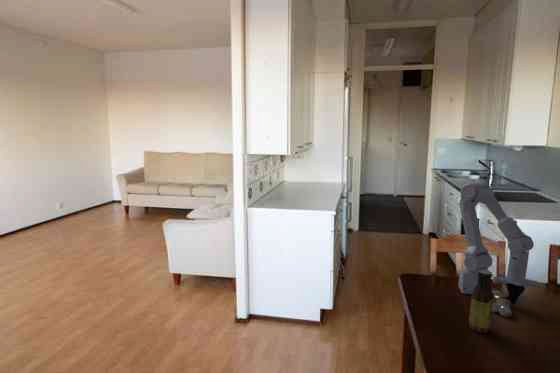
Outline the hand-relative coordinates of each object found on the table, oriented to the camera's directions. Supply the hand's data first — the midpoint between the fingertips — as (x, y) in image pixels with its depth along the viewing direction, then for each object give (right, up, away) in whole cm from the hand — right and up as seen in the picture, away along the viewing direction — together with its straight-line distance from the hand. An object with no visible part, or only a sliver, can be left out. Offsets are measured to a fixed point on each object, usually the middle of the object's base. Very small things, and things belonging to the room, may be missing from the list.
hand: (512, 302), depth 140 cm
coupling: (-4, -1, +1) cm, 4 cm away
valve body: (-6, -2, 0) cm, 6 cm away
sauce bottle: (-20, -4, -14) cm, 25 cm away
